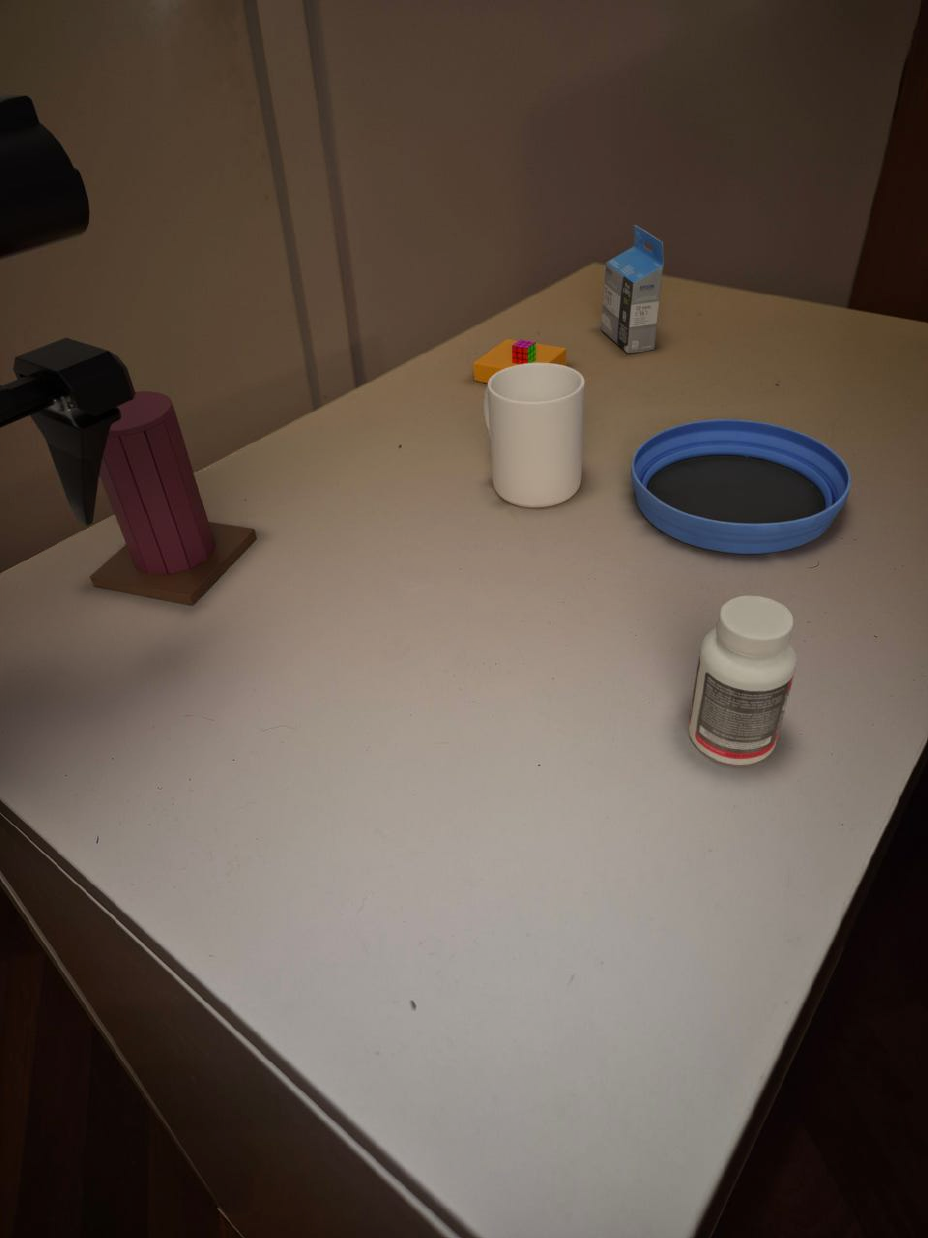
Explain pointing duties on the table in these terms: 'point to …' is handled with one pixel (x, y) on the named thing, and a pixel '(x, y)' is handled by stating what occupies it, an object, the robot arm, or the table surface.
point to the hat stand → (181, 584)
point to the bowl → (739, 485)
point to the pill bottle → (743, 681)
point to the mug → (535, 433)
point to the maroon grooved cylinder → (155, 488)
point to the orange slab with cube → (516, 357)
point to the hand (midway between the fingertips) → (19, 559)
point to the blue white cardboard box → (633, 294)
